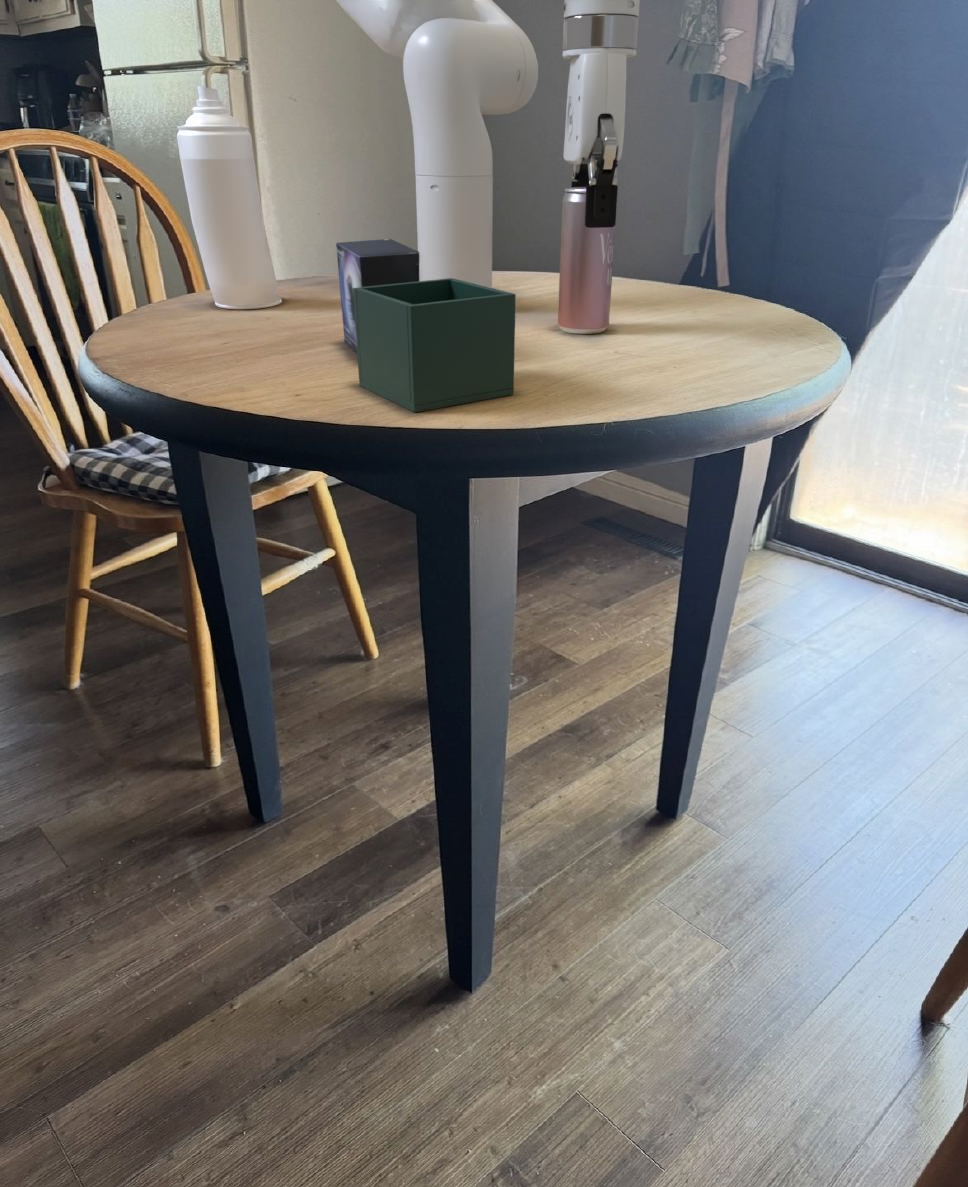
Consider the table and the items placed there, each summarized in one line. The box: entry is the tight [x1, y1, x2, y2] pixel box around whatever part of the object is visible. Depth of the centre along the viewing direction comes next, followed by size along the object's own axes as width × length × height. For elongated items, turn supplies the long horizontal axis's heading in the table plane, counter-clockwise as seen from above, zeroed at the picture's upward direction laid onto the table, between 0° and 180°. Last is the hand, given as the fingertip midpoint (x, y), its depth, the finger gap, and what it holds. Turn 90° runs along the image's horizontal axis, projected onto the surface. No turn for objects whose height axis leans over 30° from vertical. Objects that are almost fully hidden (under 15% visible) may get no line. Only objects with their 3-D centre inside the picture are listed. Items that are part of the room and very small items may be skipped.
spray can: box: [176, 84, 283, 310], centre depth 109 cm, size 12×11×25 cm
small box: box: [335, 238, 420, 355], centre depth 90 cm, size 11×6×10 cm, turn 21°
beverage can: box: [557, 187, 618, 335], centre depth 99 cm, size 6×6×15 cm
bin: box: [353, 278, 516, 413], centre depth 77 cm, size 10×10×9 cm
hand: (591, 223), depth 97 cm, fingers open, 9 cm apart
